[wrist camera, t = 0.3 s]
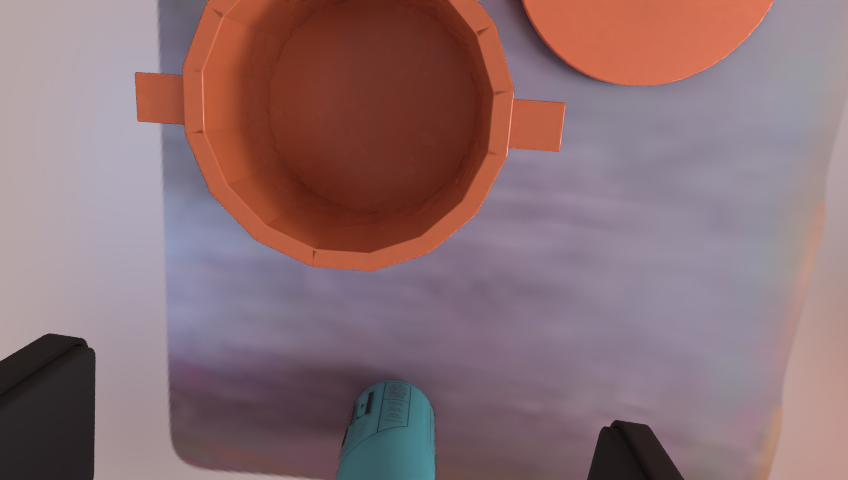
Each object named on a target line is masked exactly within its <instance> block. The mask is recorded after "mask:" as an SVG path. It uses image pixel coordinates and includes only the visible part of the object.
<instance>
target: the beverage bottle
mask: <svg viewBox="0 0 848 480" xmlns="http://www.w3.org/2000/svg"><path fill="white" fill-rule="evenodd" d="M353 405H354V404H353ZM431 405H432V404H430V403H429V401H428V399H427V398H426V396H425V395H424V394H423V393H422V392H421V391H420V390H419V389H418V388H416V387H415V386H413V385H411V384H409V383H406V382H403V381H398V380H387V381H382V382H378V383H376V384H373V385H372V386H370V387H368V388H367V389H365V391H364V392H363V393H362V394H361V395H360V397H359V398H358V399H357V400H356V403H355V405H354V408H353V412H352V416H351V420H350V424H349V428H348V429H347V431H346V434H345V435H344V436H345V437H344V439H343V443H342V446H341V448H342V447H343V445H344V448H343V449H342V450H343V451H341V450H340V451H341V452H342V456H341V460H340V464H339V468H338V470H337V471H338V472H336V473H337V476H336V480H435V462H436V461H437V456H436V461H435V459H434V458H435V457H434V450H435V449H434V446H435V445H436V444H435V443H436V442H435V441H436V440H435V439H436V438H435V439H434V436H435V435H434V432H435V431H436V430H435V429H434V428H436V425H435V427H434V422H435V421H434V419H436V418H434V415H435V414H434V415H433V410H432V407H433V406H432V407H431ZM433 409H434V408H433ZM351 411H352V410H351ZM351 411H350V412H351ZM434 412H435V411H434ZM349 416H350V415H349ZM348 420H349V419H348ZM435 423H436V422H435ZM346 428H347V427H346ZM434 430H435V431H434ZM435 434H436V433H435ZM344 442H345V444H344ZM435 447H436V446H435ZM435 451H436V450H435ZM340 454H341V453H340ZM340 454H339V457H340ZM435 455H436V454H435ZM436 469H437V468H436ZM335 475H336V474H335Z"/></svg>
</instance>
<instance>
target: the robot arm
mask: <svg viewBox="0 0 848 480" xmlns="http://www.w3.org/2000/svg"><path fill="white" fill-rule="evenodd" d="M94 429H95V352H94V350H93V349H92V348H89V347H88V345H87V343H86V341H85V340H84V339H83V338H77V337H71V336H64V335H58V334H50V333H49V334H46V335H44V336H42V337H41V338H39V339H37V340H35V341H34V342H32V343H30V344H29V345H27V346H25V347H24V348H22V349H20V350H18V351H17V352H15V353H13V354H12V355H10V356H8V357H7V358H5V359H3V360H2V361H0V480H93V478H94V434H95V433H94V432H95V431H94ZM587 480H684V479H683V477H682V476H681V474H680V473H679V471H678V470H677V468H676V467H675V465H674V464H673V462H672V460H671V459H670V457H669V456H668V454H667V453H666V451H665V450H664V448H663V447H662V445H661V444H660V442H659V441H658V439H657V438H656V436H655V435H654V433H653V432H652V430H651V429H650V427H649V426H648V425H645V424H638V423H632V422H625V421H619V420H615V421H613V423H612V424H611V426H610V427H605V426H604V427H603V428H602V429H601V431H600V434H599V438H598V441H597V445H596V449H595V453H594V456H593V460H592V464H591V468H590V471H589V475H588V479H587Z"/></svg>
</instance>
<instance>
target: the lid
mask: <svg viewBox="0 0 848 480" xmlns="http://www.w3.org/2000/svg"><path fill="white" fill-rule="evenodd" d="M521 1H522V4H523V7H524V10H525V12H526V14H527V16H528V18H529V20H530V22H531V24H532V26H533V27H534V28H535V30H536V31H537V33H538V34H539V36H540V37H541V39H542V40H543V41H544V42H545V44H546V45H547V46H548V47H549V48H550V49H551V50H552V51H553V52H554V53H555V54H556V55H557V56H558V57H559V58H561V59H562V60H563V61H564V62H565V63H567V64H568V65H570V66H571V67H573V68H575V69H576V70H578V71H579V72H581V73H583V74H586V75H588V76H590V77H592V78H595V79H597V80H601V81H604V82H608V83H611V84H618V85H625V86H651V85H659V84H666V83H670V82H674V81H678V80H681V79H684V78H687V77H689V76H692V75H694V74H697V73H699V72H701V71H703V70H705V69H707V68H708V67H710V66H712V65H714V64H716V63H717V62H719V61H720V60H721V59H723V58H724V57H725V56H727V55H728V54H730V53H731V52H732V51H733V50H734V49H735V48H737V47H738V46H739V45H740V44H741V43H742V42H743V41H744V40H745V39H746V38H747V37H748V36H749V35H750V34H751V33H752V31H753V30H754V29H755V28H756V27H757V26H758V24H759V23H760V22H761V20H762V19H763V17H764V16H765V14H766V13H767V12H768V10H769V9H770V7H771V5H772V3H773V1H774V0H521Z"/></svg>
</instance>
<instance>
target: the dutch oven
mask: <svg viewBox="0 0 848 480" xmlns="http://www.w3.org/2000/svg"><path fill="white" fill-rule="evenodd" d="M206 3H207V4H206V5H205V8H204V10H203V13H202V16H201V18H200V21H199V24H198V27H197V29H196V32H195V35H194V37H193V40H192V43H191V46H190V48H189V51H188V54H187V56H186V59H185V62H184V64H183V75H170V74H155V73H141V72H136V73H135V83H136V100H137V118H138V121H140V122H153V123H154V122H155V123H167V124H181V125H185V133H186V134H185V135H186V137H187V140H188V142H189V144H190V147H191V149H192V151H193V154H194V156H195V158H196V161H197V163H198V165H199V168H200V170H201V172H202V175H203V177H204V179H205V182H206V184H207V186H208V189H209V191H210V193H211V194H212V196H213V197H214V198H215V199H216V200H217V201H218V202H219V203H220V204H221V205H222V206H223V207H224V208H225V209H226V210H227V211H228V212H229V213H230V214H231V215H232V216H233V217H234V219H235V220H236V221H237V222H238V223H239V224H240V225H241V226H242V227H243V228H244V229H245V230H246V231H247V232H248V233H249V234H250V235H251V236H252V237H253V238H254V239H256V241H258V242H260V243H262V244H265V245H267V246H269V247H271V248H273V249H275V250H277V251H279V252H281V253H284V254H286V255H288V256H290V257H292V258H294V259H296V260H298V261H300V262H303V263H305V264H307V265H309V266H312V267H322V268H335V269H349V270H363V271H374V270H378V269H381V268H384V267H387V266H390V265H393V264H397V263H400V262H403V261H406V260H409V259H412V258H415V257H419V256H422V255H425V254H428V253H429V252H431V251H433V250H434V249H435V248H436V247H437V246H439V245H440V244H441V243H442V242H443V241H445V240H446V239H447V238H448V237H449V236H451V235H452V234H453V233H454V232H456V231H457V230H458V229H459V228H460V227H462V226H463V225H464V224H465V223H466V222H468V221H469V220H470V219H471V218H472V217H474V216H475V215H476V214H477V212H478V211H479V209H480V207H481V205H482V203H483V202H484V200H485V198H486V196H487V194H488V192H489V190H490V188H491V187H492V185H493V183H494V181H495V179H496V177H497V175H498V173H499V172H500V170H501V168H502V166H503V164H504V162H505V160H506V158H507V155H508V148H516V149H529V150H543V151H557V152H559V151H560V146H561V138H562V131H563V123H564V115H565V107H566V103H562V102H548V101H534V100H520V99H513V98H514V87H513V84H512V80H511V77H510V73H509V70H508V66H507V63H506V59H505V56H504V52H503V49H502V45H501V42H500V38H499V35H498V31H497V28H496V25H495V23H494V21H493V20H492V19H491V18H490V16H489V15H488V14H487V12H486V11H485V10H484V9H483V7H482V6H481V5H480V4H479V2H478V1H477V0H208V1H207V2H206Z"/></svg>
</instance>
